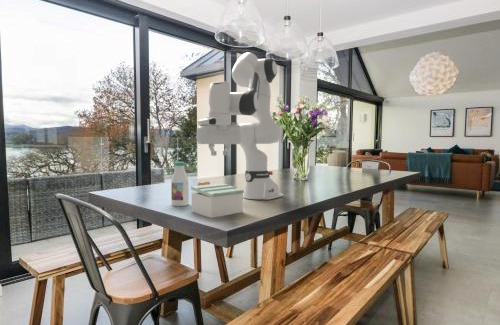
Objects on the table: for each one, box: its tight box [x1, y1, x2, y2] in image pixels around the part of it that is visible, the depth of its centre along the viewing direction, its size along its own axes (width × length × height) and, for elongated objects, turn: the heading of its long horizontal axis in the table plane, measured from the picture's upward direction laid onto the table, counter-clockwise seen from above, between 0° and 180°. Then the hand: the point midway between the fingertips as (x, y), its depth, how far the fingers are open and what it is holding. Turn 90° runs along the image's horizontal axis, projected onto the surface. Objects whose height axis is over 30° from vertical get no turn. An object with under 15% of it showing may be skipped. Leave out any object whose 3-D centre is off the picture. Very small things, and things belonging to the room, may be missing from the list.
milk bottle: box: [170, 161, 190, 207], centre depth 151 cm, size 8×8×20 cm
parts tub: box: [191, 191, 244, 219], centre depth 136 cm, size 16×14×8 cm
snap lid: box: [190, 181, 245, 197], centre depth 137 cm, size 16×19×2 cm
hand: (219, 155), depth 134 cm, fingers open, 4 cm apart
